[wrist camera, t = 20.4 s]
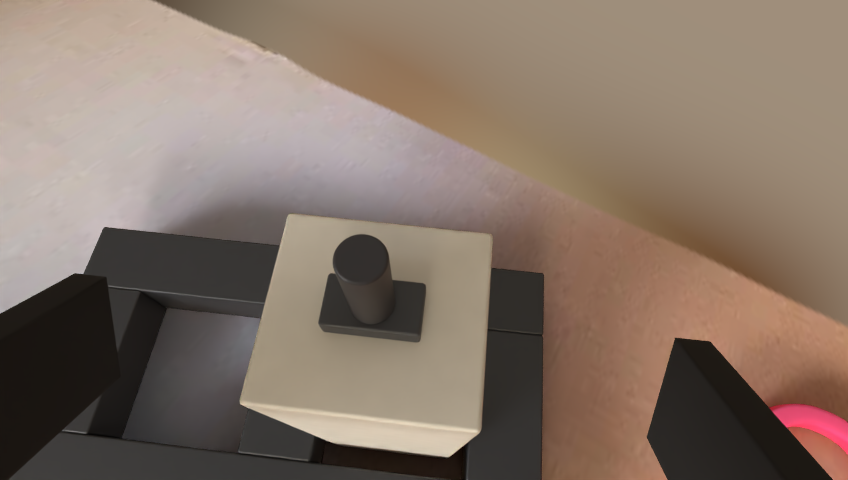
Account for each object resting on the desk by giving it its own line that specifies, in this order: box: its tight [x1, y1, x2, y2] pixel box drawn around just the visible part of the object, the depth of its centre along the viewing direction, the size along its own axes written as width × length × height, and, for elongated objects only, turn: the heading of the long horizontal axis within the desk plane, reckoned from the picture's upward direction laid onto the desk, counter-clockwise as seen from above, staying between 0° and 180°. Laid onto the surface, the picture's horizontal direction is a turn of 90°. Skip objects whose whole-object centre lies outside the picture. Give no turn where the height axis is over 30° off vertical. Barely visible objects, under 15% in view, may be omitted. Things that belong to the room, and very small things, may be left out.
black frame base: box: [8, 227, 544, 480], centre depth 19 cm, size 10×18×2 cm, turn 84°
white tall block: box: [240, 213, 493, 459], centre depth 13 cm, size 4×4×14 cm
